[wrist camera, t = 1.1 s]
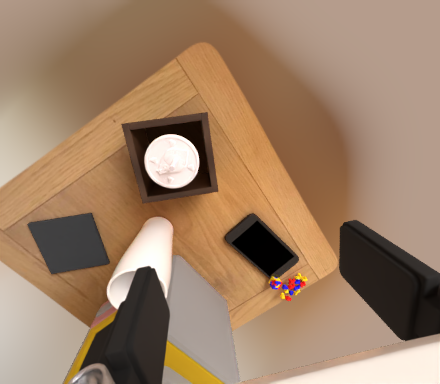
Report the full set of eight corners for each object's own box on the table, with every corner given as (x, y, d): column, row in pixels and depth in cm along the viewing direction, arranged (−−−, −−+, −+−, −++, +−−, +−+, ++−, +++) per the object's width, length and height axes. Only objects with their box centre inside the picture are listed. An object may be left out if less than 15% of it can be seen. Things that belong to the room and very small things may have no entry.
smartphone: (272, 280, 45) (273, 283, 44) (222, 236, 40) (222, 239, 39) (299, 257, 44) (302, 260, 43) (251, 210, 39) (253, 212, 38)
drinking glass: (185, 230, 39) (180, 294, 25) (157, 252, 40) (137, 325, 26) (159, 203, 37) (137, 257, 23) (130, 227, 38) (91, 293, 24)
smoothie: (206, 155, 35) (212, 178, 22) (175, 178, 36) (163, 213, 23) (181, 121, 33) (172, 124, 20) (148, 146, 34) (118, 165, 21)
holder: (138, 122, 32) (121, 124, 25) (204, 113, 33) (207, 112, 26) (153, 185, 36) (142, 203, 28) (213, 176, 36) (218, 191, 29)
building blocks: (310, 277, 45) (305, 271, 46) (281, 273, 42) (276, 267, 43) (295, 300, 47) (290, 294, 48) (266, 299, 43) (262, 292, 45)
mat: (29, 222, 36) (27, 224, 35) (91, 212, 36) (90, 214, 36) (53, 271, 39) (51, 274, 38) (109, 262, 40) (108, 264, 39)
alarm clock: (176, 242, 40) (162, 339, 22) (227, 292, 45) (248, 404, 27) (98, 300, 42) (30, 428, 25) (155, 341, 47) (132, 473, 30)
